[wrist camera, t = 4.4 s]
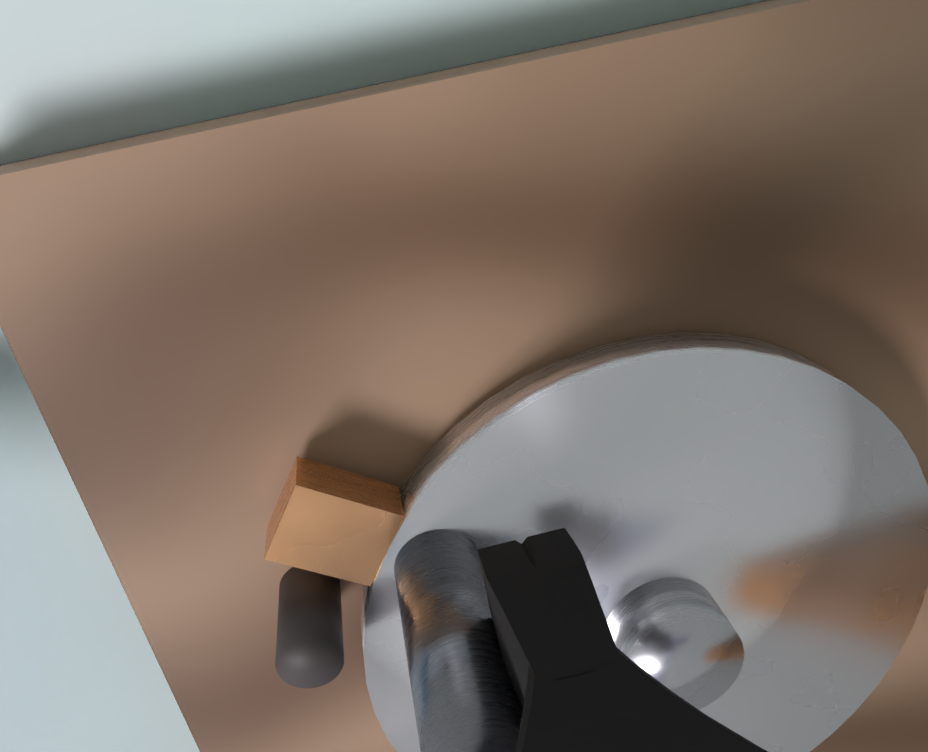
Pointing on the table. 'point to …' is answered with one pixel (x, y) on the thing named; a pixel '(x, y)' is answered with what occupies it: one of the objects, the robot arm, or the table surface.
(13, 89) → the table surface
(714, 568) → the flange
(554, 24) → the table surface
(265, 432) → the base board
